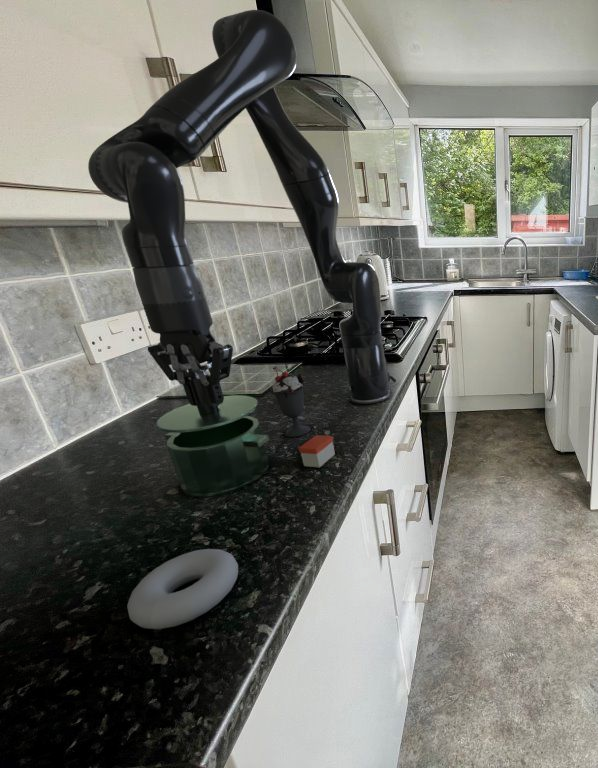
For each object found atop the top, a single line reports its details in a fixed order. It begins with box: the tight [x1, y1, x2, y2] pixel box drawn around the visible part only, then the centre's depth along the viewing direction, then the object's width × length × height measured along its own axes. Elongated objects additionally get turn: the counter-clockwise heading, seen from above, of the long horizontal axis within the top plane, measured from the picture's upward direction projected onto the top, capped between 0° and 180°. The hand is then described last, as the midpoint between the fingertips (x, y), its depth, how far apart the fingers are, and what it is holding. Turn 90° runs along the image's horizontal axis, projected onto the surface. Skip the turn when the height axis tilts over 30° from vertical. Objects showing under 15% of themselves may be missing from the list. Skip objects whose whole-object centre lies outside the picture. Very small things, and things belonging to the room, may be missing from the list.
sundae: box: [269, 366, 312, 438], centre depth 84 cm, size 7×7×15 cm
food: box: [298, 434, 336, 468], centre depth 75 cm, size 5×3×4 cm
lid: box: [156, 373, 259, 433], centre depth 66 cm, size 14×14×7 cm
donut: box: [126, 548, 239, 630], centre depth 46 cm, size 10×4×10 cm
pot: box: [164, 415, 270, 498], centre depth 70 cm, size 13×18×8 cm
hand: (207, 403), depth 67 cm, fingers closed on lid, 3 cm apart
